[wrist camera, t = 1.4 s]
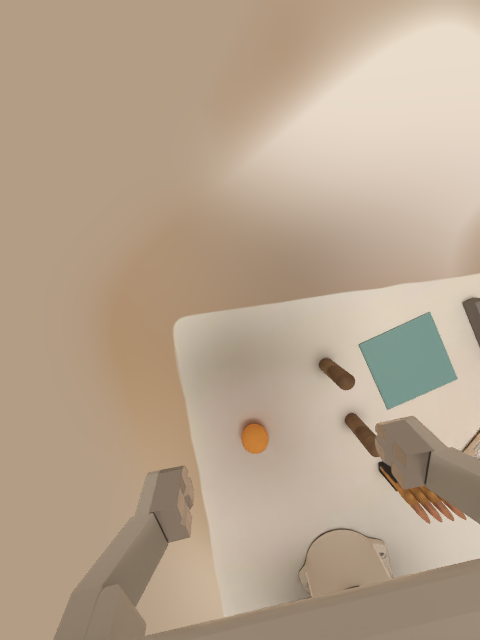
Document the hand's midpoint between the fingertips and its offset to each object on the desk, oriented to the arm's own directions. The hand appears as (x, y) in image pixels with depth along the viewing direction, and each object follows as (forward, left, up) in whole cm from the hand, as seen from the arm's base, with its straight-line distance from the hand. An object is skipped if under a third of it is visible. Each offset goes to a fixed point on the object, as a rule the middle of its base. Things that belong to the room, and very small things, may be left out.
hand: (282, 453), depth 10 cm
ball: (-18, +8, -33) cm, 38 cm away
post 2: (-24, -10, -35) cm, 44 cm away
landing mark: (-18, -24, -35) cm, 46 cm away
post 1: (-12, -10, -35) cm, 39 cm away
